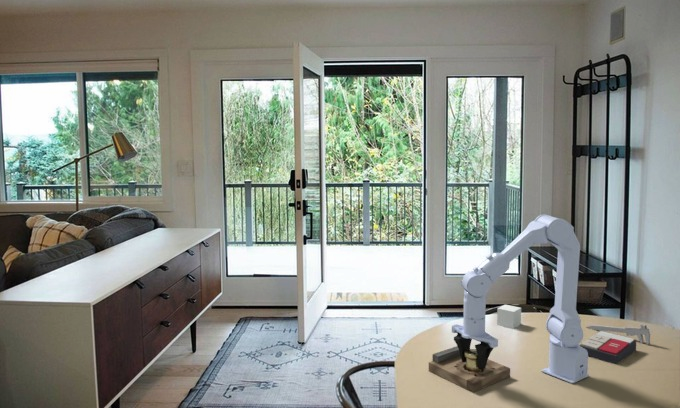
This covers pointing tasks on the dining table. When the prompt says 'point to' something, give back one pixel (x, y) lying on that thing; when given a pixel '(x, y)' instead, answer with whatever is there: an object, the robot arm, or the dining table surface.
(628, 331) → the caliper
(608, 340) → the printed card box
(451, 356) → the jig
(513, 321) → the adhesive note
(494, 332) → the dining table surface
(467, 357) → the bushing
